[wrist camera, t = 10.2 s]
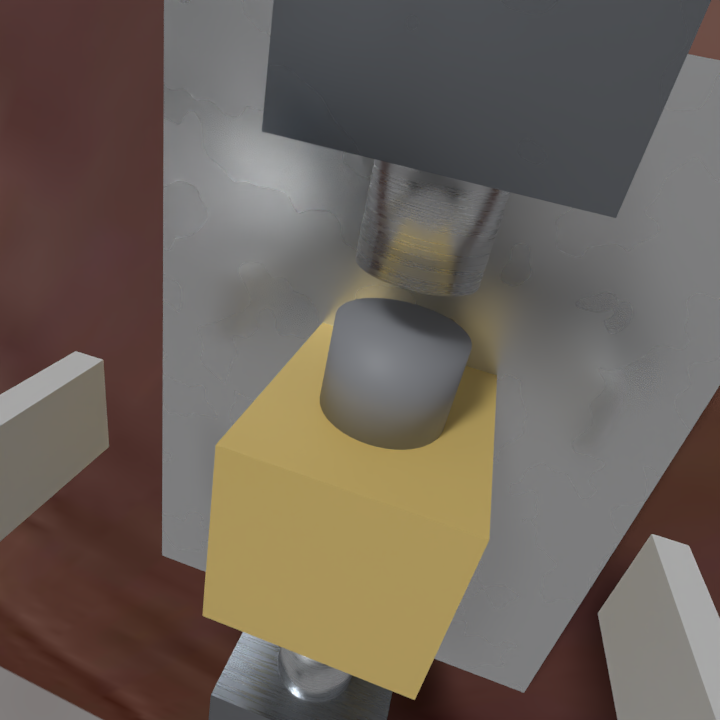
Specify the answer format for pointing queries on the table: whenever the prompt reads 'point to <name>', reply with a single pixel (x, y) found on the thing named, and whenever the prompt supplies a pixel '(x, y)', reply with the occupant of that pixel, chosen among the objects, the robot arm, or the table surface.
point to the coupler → (357, 495)
